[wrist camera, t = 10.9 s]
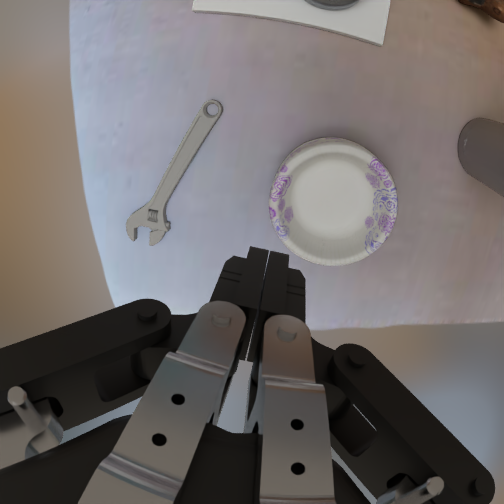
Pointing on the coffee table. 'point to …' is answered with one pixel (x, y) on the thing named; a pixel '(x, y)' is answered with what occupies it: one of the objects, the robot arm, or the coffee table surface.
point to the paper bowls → (332, 202)
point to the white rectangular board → (310, 15)
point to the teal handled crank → (333, 4)
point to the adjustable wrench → (172, 178)
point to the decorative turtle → (489, 7)
